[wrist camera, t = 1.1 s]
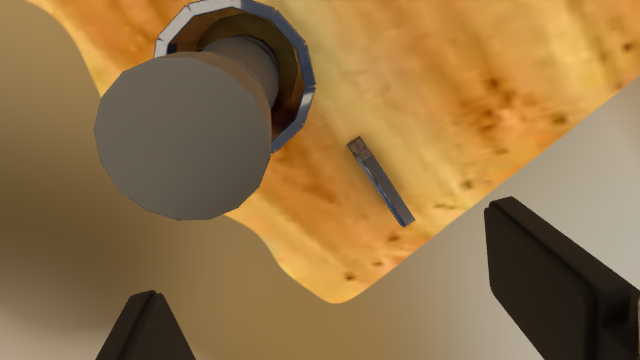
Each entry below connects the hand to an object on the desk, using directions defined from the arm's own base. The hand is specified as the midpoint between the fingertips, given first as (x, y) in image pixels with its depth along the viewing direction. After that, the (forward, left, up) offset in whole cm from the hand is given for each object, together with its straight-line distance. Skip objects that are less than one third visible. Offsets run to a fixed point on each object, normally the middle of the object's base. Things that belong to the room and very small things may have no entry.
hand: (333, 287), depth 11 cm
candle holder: (-4, -4, -29) cm, 30 cm away
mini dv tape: (+9, +6, -29) cm, 31 cm away
